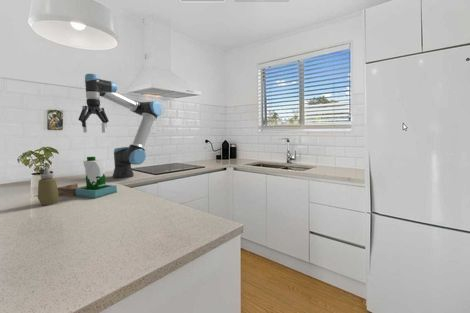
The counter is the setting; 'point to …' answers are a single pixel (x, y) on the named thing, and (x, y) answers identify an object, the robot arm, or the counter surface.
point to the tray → (96, 192)
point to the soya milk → (95, 173)
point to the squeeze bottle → (47, 188)
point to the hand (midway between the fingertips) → (95, 132)
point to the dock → (68, 190)
